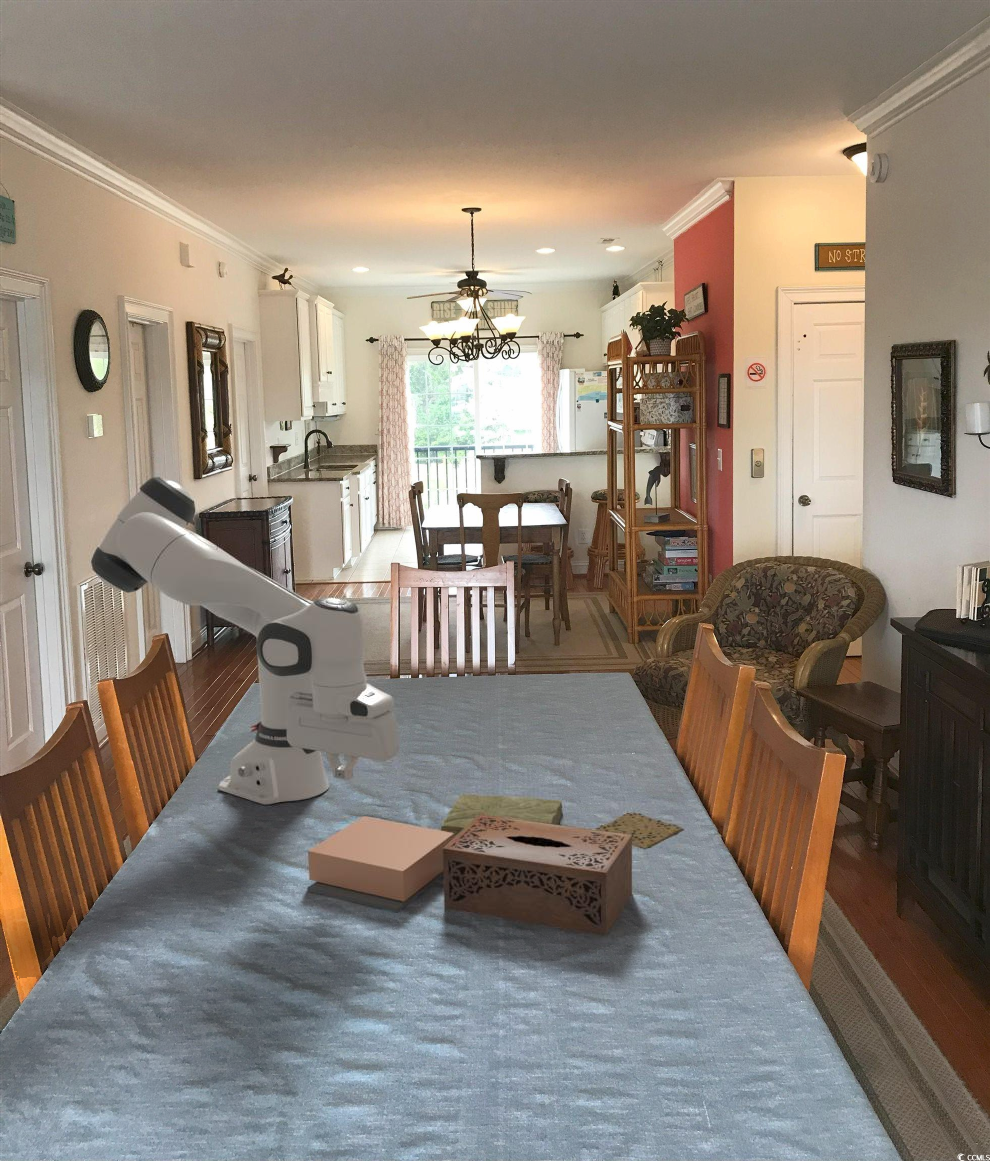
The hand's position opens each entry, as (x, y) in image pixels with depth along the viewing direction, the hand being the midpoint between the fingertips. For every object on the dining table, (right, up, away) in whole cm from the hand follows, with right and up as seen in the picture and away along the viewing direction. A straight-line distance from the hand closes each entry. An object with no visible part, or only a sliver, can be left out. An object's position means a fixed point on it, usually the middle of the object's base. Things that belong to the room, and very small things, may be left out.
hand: (343, 778), depth 180 cm
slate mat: (+7, -16, -1) cm, 18 cm away
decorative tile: (+26, -13, +18) cm, 34 cm away
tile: (-1, -12, +3) cm, 12 cm away
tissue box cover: (+32, -18, -11) cm, 38 cm away
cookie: (+51, -13, +15) cm, 55 cm away
